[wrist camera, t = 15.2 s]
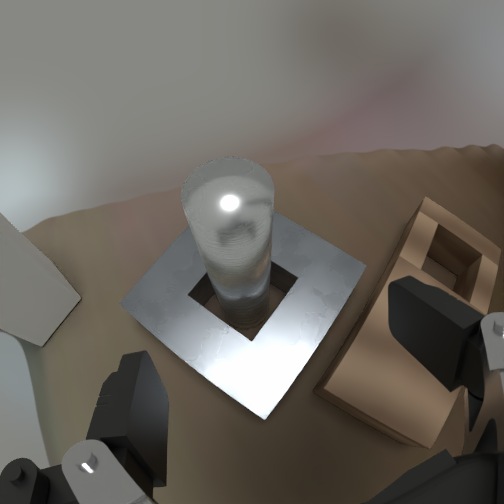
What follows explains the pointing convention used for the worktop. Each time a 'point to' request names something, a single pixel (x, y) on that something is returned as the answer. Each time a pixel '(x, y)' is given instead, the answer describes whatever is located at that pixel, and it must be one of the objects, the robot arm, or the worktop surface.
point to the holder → (273, 332)
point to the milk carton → (30, 289)
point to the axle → (233, 233)
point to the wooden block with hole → (391, 351)
